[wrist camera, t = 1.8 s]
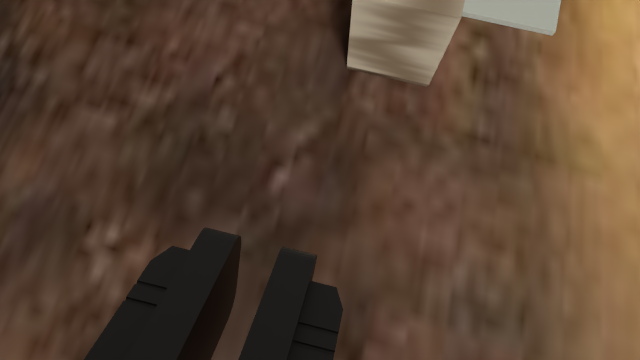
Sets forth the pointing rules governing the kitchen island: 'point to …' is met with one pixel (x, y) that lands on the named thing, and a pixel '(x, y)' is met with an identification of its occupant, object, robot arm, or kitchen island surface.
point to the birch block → (401, 37)
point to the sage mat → (516, 13)
